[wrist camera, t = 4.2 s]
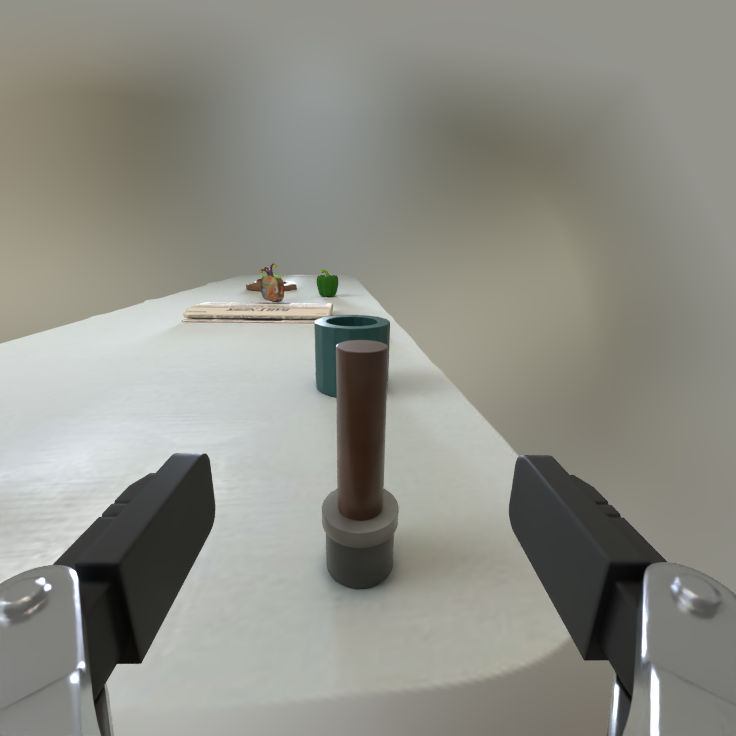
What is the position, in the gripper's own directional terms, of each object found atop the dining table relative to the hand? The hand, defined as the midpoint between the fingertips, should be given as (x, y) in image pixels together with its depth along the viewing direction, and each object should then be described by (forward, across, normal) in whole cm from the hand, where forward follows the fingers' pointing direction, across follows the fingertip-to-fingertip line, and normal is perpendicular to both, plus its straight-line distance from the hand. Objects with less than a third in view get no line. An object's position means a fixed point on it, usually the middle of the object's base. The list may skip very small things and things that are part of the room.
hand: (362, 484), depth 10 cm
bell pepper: (+143, +12, +12) cm, 144 cm away
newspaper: (+96, +26, +12) cm, 100 cm away
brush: (+10, 0, +12) cm, 16 cm away
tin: (+129, +31, +12) cm, 133 cm away
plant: (+167, +39, +12) cm, 172 cm away
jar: (+41, +1, +12) cm, 43 cm away
